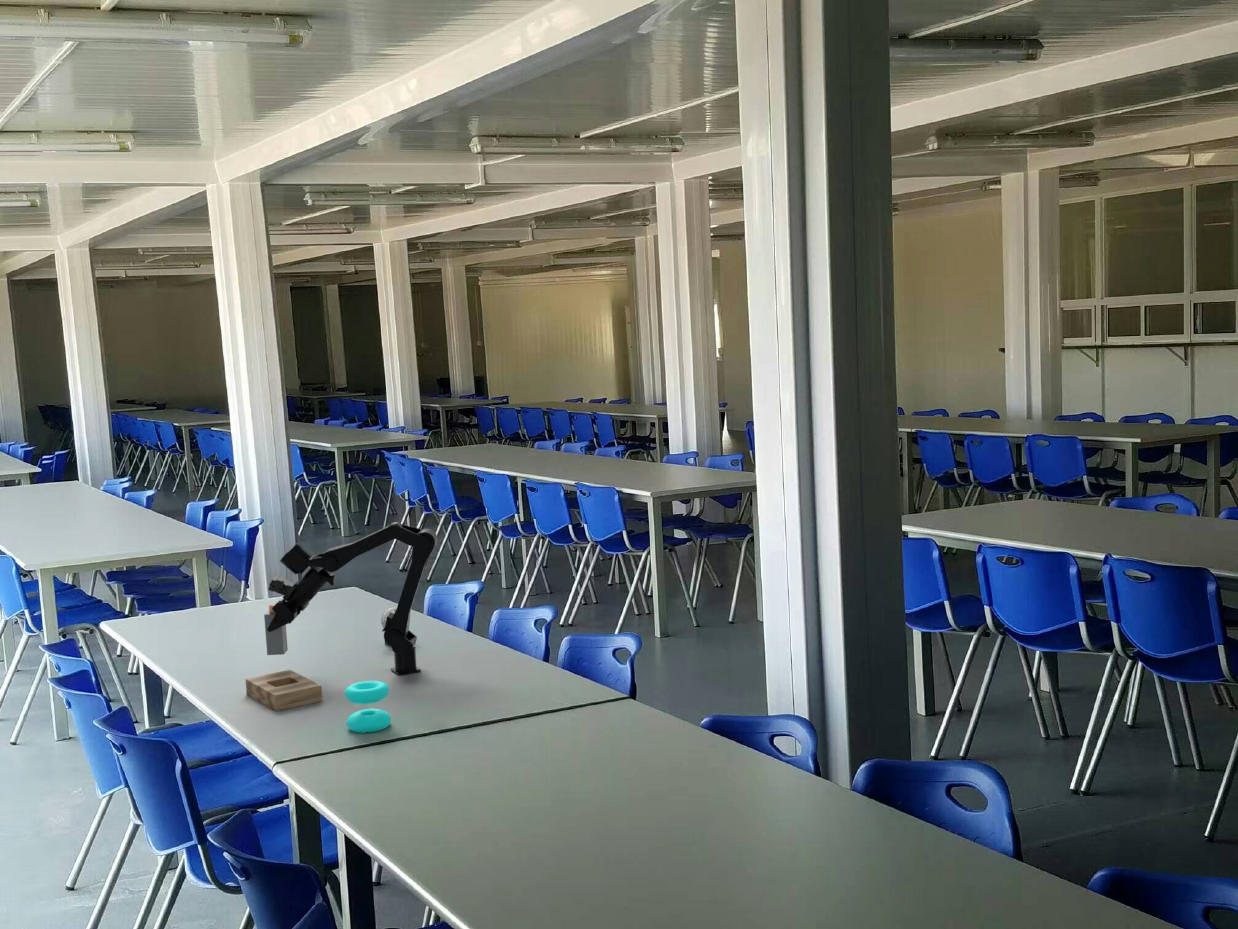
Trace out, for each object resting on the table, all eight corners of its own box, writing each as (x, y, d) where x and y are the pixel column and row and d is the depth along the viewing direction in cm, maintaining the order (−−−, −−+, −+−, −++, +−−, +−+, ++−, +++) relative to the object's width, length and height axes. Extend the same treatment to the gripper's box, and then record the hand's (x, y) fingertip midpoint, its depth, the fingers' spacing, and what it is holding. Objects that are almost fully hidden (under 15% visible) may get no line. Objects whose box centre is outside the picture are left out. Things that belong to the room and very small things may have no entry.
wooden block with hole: (322, 700, 306) (321, 685, 305) (276, 711, 299) (274, 695, 298) (291, 684, 322) (290, 669, 321) (246, 694, 315) (245, 679, 314)
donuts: (386, 677, 288) (390, 688, 279) (389, 718, 289) (393, 731, 280) (343, 682, 286) (345, 693, 276) (346, 723, 287) (348, 736, 277)
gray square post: (287, 650, 331) (284, 603, 330) (283, 654, 327) (280, 606, 325) (271, 651, 331) (267, 603, 329) (267, 655, 326) (263, 607, 325)
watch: (412, 643, 361) (410, 606, 360) (388, 648, 356) (386, 611, 354) (403, 640, 365) (401, 604, 364) (379, 645, 360) (377, 608, 359)
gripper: (293, 560, 336) (256, 601, 336) (277, 573, 317) (237, 617, 318) (324, 586, 337) (287, 628, 338) (310, 601, 318) (270, 645, 319)
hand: (270, 628), depth 328 cm, fingers closed on gray square post, 4 cm apart
